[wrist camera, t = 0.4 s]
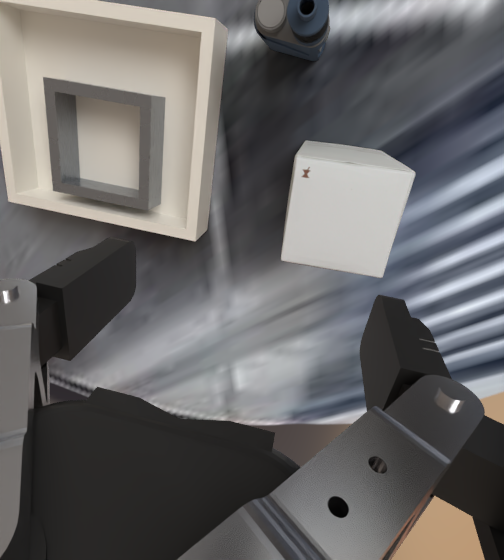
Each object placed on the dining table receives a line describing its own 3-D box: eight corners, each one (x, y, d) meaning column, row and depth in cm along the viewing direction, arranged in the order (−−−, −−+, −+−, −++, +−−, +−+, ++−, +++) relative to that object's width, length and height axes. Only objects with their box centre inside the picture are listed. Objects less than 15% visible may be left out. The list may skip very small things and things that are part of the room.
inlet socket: (65, 79, 34) (42, 76, 32) (165, 97, 33) (151, 95, 31) (71, 185, 39) (52, 190, 36) (160, 203, 38) (148, 210, 35)
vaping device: (322, 65, 31) (321, 39, 20) (263, 49, 31) (230, 14, 20) (333, 30, 30) (337, -18, 19) (271, 13, 30) (241, -44, 19)
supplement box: (290, 216, 37) (275, 261, 25) (304, 138, 33) (293, 150, 22) (364, 229, 36) (383, 282, 24) (386, 150, 32) (418, 169, 21)
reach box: (15, -3, 33) (-23, -18, 29) (228, 29, 31) (215, 18, 27) (36, 193, 41) (8, 201, 37) (207, 229, 39) (195, 241, 35)
